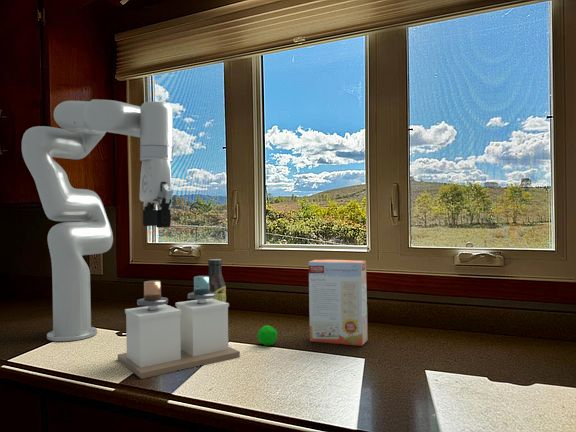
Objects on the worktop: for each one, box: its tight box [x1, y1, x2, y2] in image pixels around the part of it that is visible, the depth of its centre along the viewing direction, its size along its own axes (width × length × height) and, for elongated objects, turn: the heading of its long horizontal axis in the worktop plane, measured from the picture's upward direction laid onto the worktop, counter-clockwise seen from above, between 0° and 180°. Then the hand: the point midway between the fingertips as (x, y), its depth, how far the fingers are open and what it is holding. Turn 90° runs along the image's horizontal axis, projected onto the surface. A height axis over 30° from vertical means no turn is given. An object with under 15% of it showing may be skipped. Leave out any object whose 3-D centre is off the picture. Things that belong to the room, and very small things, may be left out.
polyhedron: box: [256, 324, 278, 347], centre depth 116 cm, size 5×5×5 cm
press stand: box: [117, 298, 241, 380], centre depth 106 cm, size 16×23×12 cm
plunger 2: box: [187, 275, 216, 304], centre depth 110 cm, size 7×7×14 cm
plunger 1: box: [136, 280, 169, 311], centre depth 103 cm, size 7×7×14 cm
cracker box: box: [308, 259, 369, 347], centre depth 119 cm, size 14×6×21 cm, turn 67°
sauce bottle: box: [207, 258, 227, 303], centre depth 136 cm, size 7×6×20 cm
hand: (156, 226), depth 110 cm, fingers open, 9 cm apart
